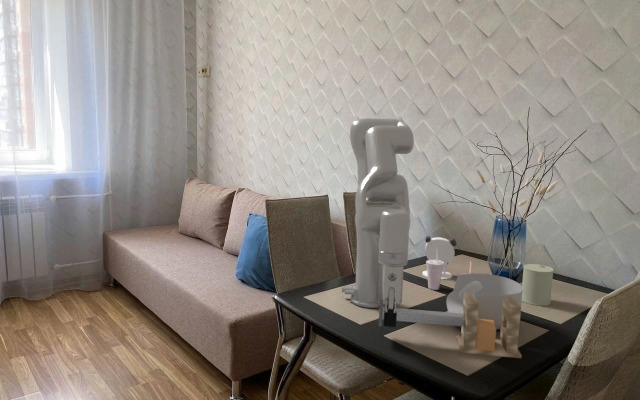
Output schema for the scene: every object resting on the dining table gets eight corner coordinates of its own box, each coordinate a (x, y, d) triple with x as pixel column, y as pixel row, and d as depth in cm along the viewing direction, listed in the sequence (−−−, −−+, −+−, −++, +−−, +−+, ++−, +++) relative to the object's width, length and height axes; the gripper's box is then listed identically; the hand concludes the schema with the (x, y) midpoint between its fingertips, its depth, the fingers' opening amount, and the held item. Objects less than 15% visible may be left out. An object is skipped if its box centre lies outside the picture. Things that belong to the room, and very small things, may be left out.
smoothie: (444, 291, 157) (447, 252, 154) (426, 290, 157) (428, 252, 155) (440, 285, 163) (442, 248, 161) (422, 284, 163) (425, 247, 161)
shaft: (378, 326, 116) (379, 308, 115) (379, 317, 122) (380, 299, 121) (467, 334, 113) (468, 315, 112) (463, 324, 118) (464, 306, 118)
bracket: (460, 352, 112) (464, 303, 111) (456, 338, 120) (459, 292, 118) (521, 358, 110) (526, 308, 108) (512, 343, 118) (517, 296, 116)
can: (554, 300, 150) (557, 266, 148) (545, 308, 143) (549, 272, 141) (525, 293, 156) (528, 260, 154) (516, 300, 149) (519, 266, 148)
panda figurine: (452, 272, 179) (455, 235, 177) (454, 281, 168) (457, 242, 166) (422, 269, 182) (424, 233, 179) (422, 278, 171) (424, 240, 169)
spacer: (475, 348, 113) (477, 326, 112) (473, 339, 118) (475, 318, 117) (494, 351, 112) (496, 329, 111) (491, 341, 117) (493, 320, 116)
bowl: (528, 338, 121) (532, 297, 120) (456, 333, 124) (459, 293, 122) (506, 310, 141) (510, 274, 139) (445, 306, 143) (447, 271, 141)
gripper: (408, 267, 107) (404, 338, 110) (406, 250, 123) (403, 313, 126) (377, 264, 109) (374, 335, 111) (379, 248, 124) (376, 310, 127)
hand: (389, 323), depth 119 cm, fingers closed on shaft, 2 cm apart
